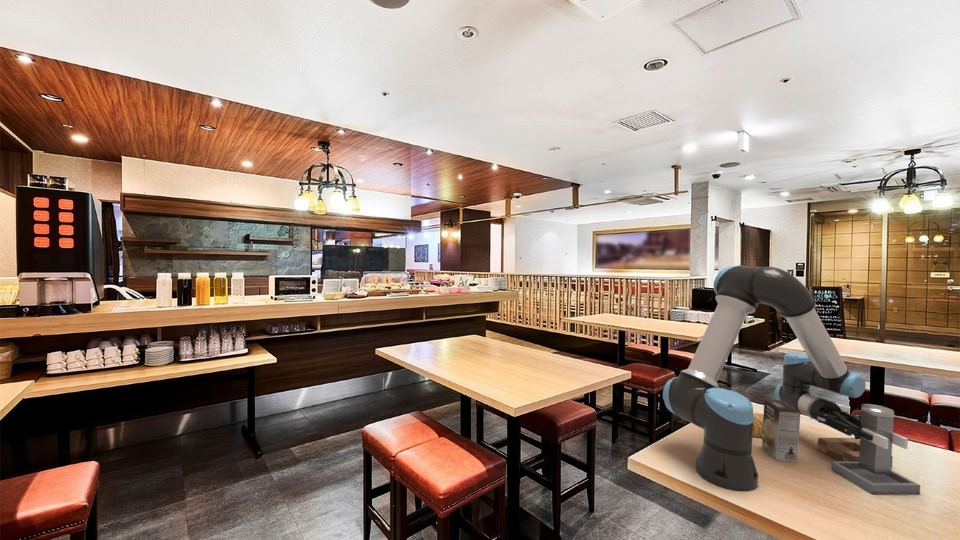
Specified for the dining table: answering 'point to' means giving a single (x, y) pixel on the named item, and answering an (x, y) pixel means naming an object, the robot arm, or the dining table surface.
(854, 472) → the tray
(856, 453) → the block
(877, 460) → the pin
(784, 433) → the coffee box
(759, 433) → the croissant
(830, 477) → the dining table surface
